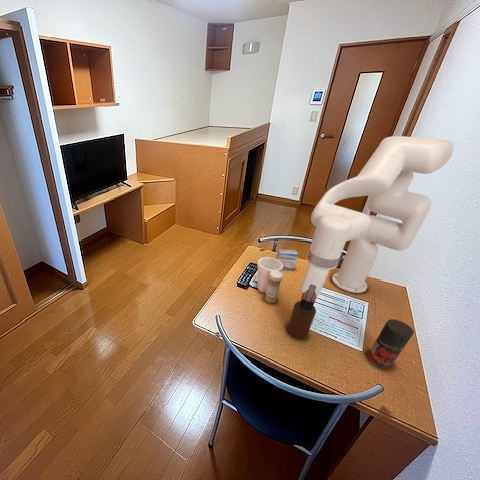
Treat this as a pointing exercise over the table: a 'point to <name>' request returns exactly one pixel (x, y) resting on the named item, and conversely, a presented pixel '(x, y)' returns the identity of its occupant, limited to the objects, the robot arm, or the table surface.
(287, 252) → the medicine box
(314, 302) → the cap
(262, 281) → the foam cup
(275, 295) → the sprinkles bottle
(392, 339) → the deodorant
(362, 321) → the table surface
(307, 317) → the sauce bottle
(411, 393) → the table surface
